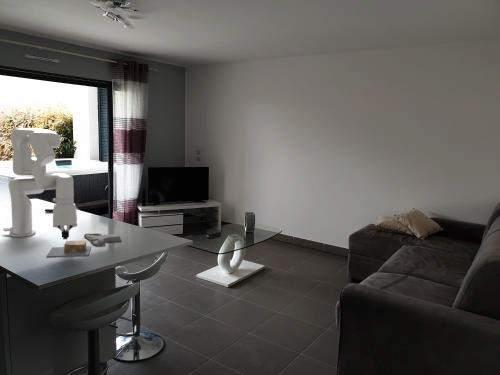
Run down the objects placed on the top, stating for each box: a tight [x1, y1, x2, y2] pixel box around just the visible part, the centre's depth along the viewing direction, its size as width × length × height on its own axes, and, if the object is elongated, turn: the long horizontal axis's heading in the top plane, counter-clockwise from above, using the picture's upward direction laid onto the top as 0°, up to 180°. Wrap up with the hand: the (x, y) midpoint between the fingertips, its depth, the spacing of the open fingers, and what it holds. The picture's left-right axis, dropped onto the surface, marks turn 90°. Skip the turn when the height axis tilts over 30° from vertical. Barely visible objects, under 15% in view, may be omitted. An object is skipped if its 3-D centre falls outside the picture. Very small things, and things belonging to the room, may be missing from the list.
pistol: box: [83, 233, 121, 247], centre depth 210 cm, size 20×3×16 cm
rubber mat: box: [46, 245, 92, 258], centre depth 186 cm, size 18×14×1 cm
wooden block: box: [63, 239, 87, 253], centre depth 187 cm, size 4×7×9 cm
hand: (65, 238), depth 185 cm, fingers closed
